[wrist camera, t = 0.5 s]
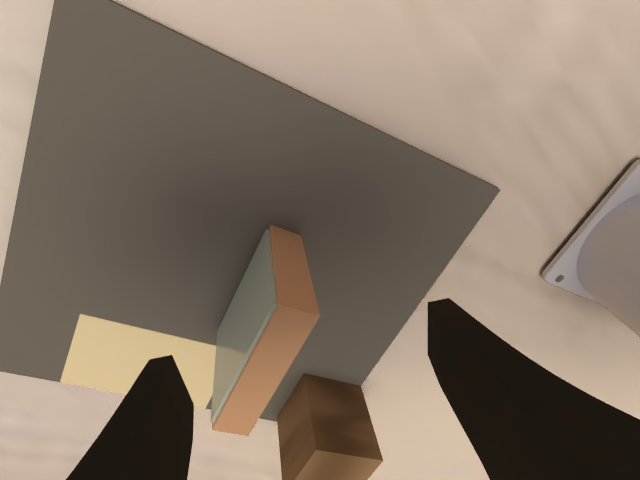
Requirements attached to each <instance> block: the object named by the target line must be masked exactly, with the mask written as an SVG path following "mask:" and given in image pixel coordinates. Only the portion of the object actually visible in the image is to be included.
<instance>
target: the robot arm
mask: <svg viewBox="0 0 640 480" xmlns="http://www.w3.org/2000/svg"><path fill="white" fill-rule="evenodd" d="M556 277H557V278H556ZM542 278H543V279H544V280H545V281H546V282H548V283H550V284H552V285H555V286H557V287H560V288H562V289H565V290H567V291H570V292H572V293H575V294H577V295H580V296H582V297H585V298H587V299H590V300H592V301H595V302H597V303H600V304H602V305H604V306H605V307H606V308H607V309H608V310H609V311H610V312H612V313H613V314H614V315H615V316H616V317H617V318H619V319H620V320H621V321H622V322H623V323H624V324H625V325H627V326H628V327H629V328H630V329H631V330H632V331H634V332H635V333H636V334H637V335H638V336H639V337H640V159H638V160H637V161H635V162H634V163H633V164H632V165H631V166H630V168H629V169H628V170H627V171H626V172H625V174H624V175H623V176H622V177H621V178H620V180H619V181H618V182H617V183H616V184H615V186H614V187H613V188H612V189H611V190H610V192H609V193H608V194H607V195H606V196H605V198H604V199H603V200H602V201H601V202H600V204H599V205H598V206H597V207H596V208H595V210H594V211H593V212H592V213H591V214H590V216H589V217H588V218H587V219H586V220H585V222H584V223H583V224H582V225H581V226H580V228H579V229H578V230H577V231H576V232H575V234H574V235H573V236H572V237H571V238H570V240H569V241H568V242H567V243H566V244H565V246H564V247H563V248H562V249H561V250H560V252H559V253H558V254H557V255H556V256H555V258H554V259H553V260H552V261H551V262H550V264H549V265H548V266H547V267H546V268H545V270H544V271H543V273H542ZM428 356H429V359H430V361H431V364H432V366H433V369H434V371H435V374H436V376H437V379H438V381H439V384H440V386H441V388H442V390H443V392H444V394H445V396H446V398H447V399H448V401H449V403H450V405H451V407H452V409H453V411H454V412H455V414H456V416H457V418H458V420H459V422H460V423H461V425H462V427H463V429H464V431H465V433H466V434H467V436H468V438H469V440H470V442H471V444H472V445H473V447H474V449H475V451H476V453H477V455H478V456H479V458H480V460H481V462H482V464H483V466H484V468H485V470H486V472H487V474H488V476H489V478H490V480H640V420H639V419H637V418H635V417H633V416H631V415H629V414H627V413H625V412H623V411H621V410H619V409H617V408H615V407H613V406H611V405H609V404H606V403H604V402H603V401H601V400H599V399H597V398H595V397H593V396H591V395H589V394H587V393H586V392H584V391H582V390H580V389H578V388H577V387H575V386H573V385H571V384H570V383H568V382H566V381H564V380H563V379H561V378H559V377H558V376H556V375H554V374H553V373H551V372H549V371H548V370H546V369H545V368H543V367H541V366H540V365H538V364H537V363H535V362H534V361H532V360H531V359H529V358H528V357H526V356H525V355H523V354H522V353H521V352H519V351H518V350H516V349H515V348H513V347H512V346H511V345H509V344H508V343H507V342H505V341H504V340H502V339H501V338H500V337H498V336H497V335H496V334H494V333H493V332H492V331H490V330H489V329H488V328H486V327H485V326H484V325H482V324H481V323H480V322H479V321H477V320H476V319H475V318H473V317H472V316H471V315H470V314H468V313H467V312H466V311H465V310H463V309H462V308H461V307H460V306H458V305H457V304H456V303H454V302H453V301H452V300H450V299H449V298H447V299H442V300H438V301H433V302H428ZM193 411H194V403H193V401H192V399H191V397H190V394H189V392H188V390H187V388H186V385H185V383H184V381H183V379H182V376H181V374H180V372H179V369H178V367H177V365H176V363H175V360H174V358H173V356H172V355H169V356H164V357H159V358H154V359H150V360H149V361H148V362H147V364H146V365H145V367H144V368H143V370H142V371H141V373H140V374H139V376H138V378H137V379H136V381H135V382H134V384H133V385H132V387H131V388H130V390H129V392H128V393H127V395H126V396H125V398H124V399H123V401H122V402H121V404H120V405H119V407H118V408H117V410H116V411H115V413H114V414H113V416H112V417H111V419H110V420H109V422H108V423H107V424H106V426H105V427H104V429H103V430H102V432H101V433H100V435H99V436H98V438H97V439H96V440H95V442H94V443H93V444H92V446H91V447H90V448H89V450H88V451H87V452H86V454H85V455H84V457H83V458H82V459H81V461H80V462H79V463H78V465H77V466H76V467H75V469H74V470H73V471H72V473H71V474H70V475H69V476H68V478H67V479H66V480H187V476H188V469H189V462H190V455H191V449H192V441H193Z"/></svg>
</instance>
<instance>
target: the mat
mask: <svg viewBox="0 0 640 480" xmlns="http://www.w3.org/2000/svg"><path fill="white" fill-rule="evenodd" d="M499 191H500V189H498V188H497V187H496V186H493V185H491V184H489V183H487V182H485V181H483V180H481V179H479V178H477V177H475V176H473V175H471V174H469V173H467V172H465V171H463V170H460V169H458V168H456V167H454V166H452V165H450V164H448V163H446V162H444V161H442V160H440V159H438V158H436V157H434V156H432V155H430V154H427V153H425V152H423V151H421V150H419V149H417V148H415V147H413V146H411V145H409V144H407V143H405V142H403V141H401V140H399V139H397V138H395V137H392V136H390V135H388V134H386V133H384V132H382V131H380V130H378V129H376V128H374V127H372V126H370V125H368V124H366V123H364V122H362V121H359V120H357V119H355V118H353V117H351V116H349V115H347V114H345V113H343V112H341V111H339V110H337V109H335V108H333V107H331V106H329V105H326V104H324V103H322V102H320V101H318V100H316V99H314V98H312V97H310V96H308V95H306V94H304V93H302V92H300V91H298V90H296V89H294V88H291V87H289V86H287V85H285V84H283V83H281V82H279V81H277V80H275V79H273V78H271V77H269V76H267V75H265V74H263V73H261V72H258V71H256V70H254V69H252V68H250V67H248V66H246V65H244V64H242V63H240V62H238V61H236V60H234V59H232V58H230V57H228V56H225V55H223V54H221V53H219V52H217V51H215V50H213V49H211V48H209V47H207V46H205V45H203V44H201V43H199V42H197V41H195V40H193V39H190V38H188V37H186V36H184V35H182V34H180V33H178V32H176V31H174V30H172V29H170V28H168V27H166V26H164V25H162V24H160V23H157V22H155V21H153V20H151V19H149V18H147V17H145V16H143V15H141V14H139V13H137V12H135V11H133V10H131V9H129V8H127V7H124V6H122V5H120V4H118V3H116V2H114V1H112V0H54V5H53V11H52V16H51V21H50V26H49V32H48V37H47V42H46V47H45V53H44V58H43V63H42V69H41V74H40V79H39V84H38V90H37V95H36V100H35V105H34V111H33V116H32V121H31V127H30V132H29V137H28V142H27V148H26V153H25V158H24V164H23V169H22V174H21V179H20V185H19V190H18V195H17V200H16V206H15V211H14V216H13V222H12V227H11V232H10V237H9V243H8V248H7V253H6V259H5V264H4V269H3V274H2V280H1V285H0V371H1V372H7V373H13V374H18V375H24V376H29V377H35V378H40V379H46V380H51V381H57V382H60V383H65V384H71V385H76V386H82V387H87V388H93V389H98V390H104V391H109V392H115V393H120V394H126V395H127V393H128V392H129V390H130V388H131V387H132V385H133V384H134V382H135V381H136V379H137V378H138V376H139V374H140V373H141V371H142V370H143V368H144V367H145V365H146V364H147V362H148V361H149V360H150V359H154V358H159V357H164V356H169V355H172V356H173V358H174V360H175V363H176V365H177V367H178V369H179V372H180V374H181V376H182V379H183V381H184V383H185V385H186V388H187V390H188V392H189V394H190V397H191V399H192V401H193V403H194V407H198V408H203V409H212V396H213V382H214V369H215V356H216V343H217V330H218V328H219V326H220V324H221V322H222V320H223V318H224V316H225V314H226V312H227V310H228V307H229V305H230V303H231V301H232V299H233V297H234V295H235V293H236V291H237V289H238V287H239V285H240V282H241V280H242V278H243V276H244V274H245V272H246V270H247V268H248V266H249V264H250V262H251V259H252V257H253V255H254V253H255V251H256V249H257V247H258V245H259V243H260V241H261V239H262V236H263V234H264V232H265V230H266V229H269V227H270V225H273V226H276V227H279V228H282V229H284V230H287V231H290V232H293V233H296V234H299V235H301V238H302V242H303V246H304V250H305V254H306V259H307V263H308V267H309V271H310V275H311V279H312V284H313V288H314V292H315V296H316V300H317V305H318V309H319V313H320V317H319V319H318V320H317V322H316V324H315V325H314V327H313V329H312V330H311V332H310V334H309V335H308V337H307V339H306V340H305V342H304V344H303V345H302V347H301V349H300V350H299V352H298V354H297V355H296V357H295V359H294V360H293V362H292V364H291V365H290V367H289V369H288V370H287V372H286V374H285V376H284V377H283V379H282V381H281V382H280V384H279V386H278V387H277V389H276V391H275V392H274V394H273V396H272V397H271V399H270V401H269V402H268V404H267V406H266V407H265V409H264V411H263V412H262V414H261V416H260V417H259V418H261V419H266V420H272V421H277V415H278V414H279V412H280V410H281V409H282V407H283V406H284V404H285V402H286V401H287V399H288V398H289V396H290V394H291V393H292V391H293V390H294V388H295V386H296V385H297V383H298V381H299V380H300V378H301V377H302V375H303V373H307V374H311V375H315V376H320V377H324V378H328V379H333V380H337V381H341V382H346V383H350V384H354V385H359V386H361V385H362V383H363V382H364V381H365V379H366V378H367V376H368V375H369V374H370V372H371V371H372V369H373V368H374V367H375V365H376V364H377V362H378V361H379V360H380V358H381V357H382V355H383V354H384V353H385V351H386V350H387V348H388V347H389V346H390V344H391V343H392V341H393V340H394V339H395V337H396V336H397V334H398V333H399V332H400V330H401V329H402V327H403V326H404V324H405V323H406V322H407V320H408V319H409V317H410V316H411V315H412V313H413V312H414V310H415V309H416V308H417V306H418V305H419V303H420V302H421V301H422V299H423V298H424V296H425V295H426V294H427V292H428V291H429V289H430V288H431V287H432V285H433V284H434V282H435V281H436V280H437V278H438V277H439V275H440V274H441V273H442V271H443V270H444V268H445V267H446V266H447V264H448V263H449V261H450V260H451V259H452V257H453V256H454V254H455V253H456V252H457V250H458V249H459V247H460V246H461V245H462V243H463V242H464V240H465V239H466V238H467V236H468V235H469V233H470V232H471V231H472V229H473V228H474V226H475V225H476V224H477V222H478V221H479V219H480V218H481V217H482V215H483V214H484V212H485V211H486V210H487V208H488V207H489V205H490V204H491V203H492V201H493V200H494V198H495V197H496V195H497V194H498V193H499ZM277 422H278V421H277Z"/></svg>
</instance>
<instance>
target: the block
mask: <svg viewBox="0 0 640 480" xmlns="http://www.w3.org/2000/svg"><path fill="white" fill-rule="evenodd" d="M277 421H278V434H279V446H280V458H281V471H282V480H367V479H368V478H369V477H370V476H371V475H372V473H373V472H374V471H375V470H376V469H377V467H378V466H379V465H380V464H381V463H382V461H383V459H382V455H381V452H380V449H379V445H378V442H377V439H376V435H375V432H374V429H373V425H372V422H371V419H370V415H369V412H368V409H367V405H366V402H365V399H364V395H363V392H362V389H361V386H359V385H354V384H350V383H346V382H341V381H337V380H333V379H328V378H324V377H320V376H315V375H311V374H307V373H303V375H302V377H301V378H300V380H299V381H298V383H297V385H296V386H295V388H294V390H293V391H292V393H291V394H290V396H289V398H288V399H287V401H286V402H285V404H284V406H283V407H282V409H281V410H280V412H279V414H278V415H277Z"/></svg>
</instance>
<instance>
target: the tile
mask: <svg viewBox="0 0 640 480" xmlns="http://www.w3.org/2000/svg"><path fill="white" fill-rule="evenodd" d="M319 317H320V313H319V309H318V305H317V300H316V296H315V292H314V288H313V284H312V279H311V275H310V271H309V267H308V263H307V259H306V254H305V250H304V246H303V242H302V238H301V235H299V234H296V233H293V232H290V231H287V230H284V229H282V228H279V227H276V226H273V225H270V227H269V229H266V230H265V232H264V234H263V236H262V239H261V241H260V243H259V245H258V247H257V249H256V251H255V253H254V255H253V257H252V259H251V262H250V264H249V266H248V268H247V270H246V272H245V274H244V276H243V278H242V280H241V282H240V285H239V287H238V289H237V291H236V293H235V295H234V297H233V299H232V301H231V303H230V305H229V307H228V310H227V312H226V314H225V316H224V318H223V320H222V322H221V324H220V326H219V328H218V330H217V343H216V356H215V369H214V382H213V396H212V409H211V422H212V423H213V424H212V430H215V431H221V432H227V433H233V434H239V435H246V436H249V434H250V432H251V431H252V429H253V427H254V426H255V424H256V422H257V421H258V419H259V417H260V416H261V414H262V412H263V411H264V409H265V407H266V406H267V404H268V402H269V401H270V399H271V397H272V396H273V394H274V392H275V391H276V389H277V387H278V386H279V384H280V382H281V381H282V379H283V377H284V376H285V374H286V372H287V370H288V369H289V367H290V365H291V364H292V362H293V360H294V359H295V357H296V355H297V354H298V352H299V350H300V349H301V347H302V345H303V344H304V342H305V340H306V339H307V337H308V335H309V334H310V332H311V330H312V329H313V327H314V325H315V324H316V322H317V320H318V319H319Z"/></svg>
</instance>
